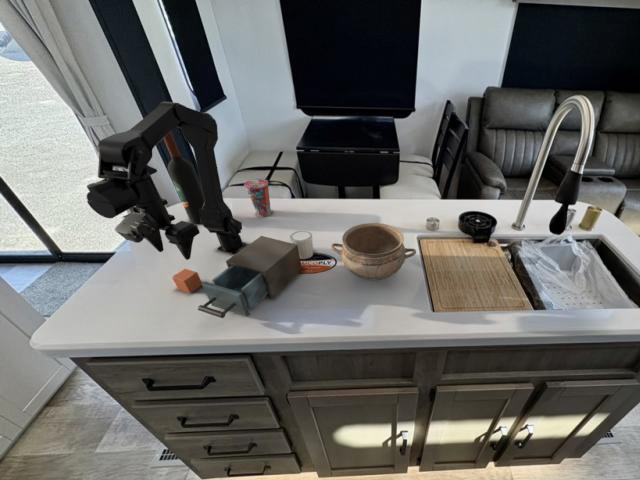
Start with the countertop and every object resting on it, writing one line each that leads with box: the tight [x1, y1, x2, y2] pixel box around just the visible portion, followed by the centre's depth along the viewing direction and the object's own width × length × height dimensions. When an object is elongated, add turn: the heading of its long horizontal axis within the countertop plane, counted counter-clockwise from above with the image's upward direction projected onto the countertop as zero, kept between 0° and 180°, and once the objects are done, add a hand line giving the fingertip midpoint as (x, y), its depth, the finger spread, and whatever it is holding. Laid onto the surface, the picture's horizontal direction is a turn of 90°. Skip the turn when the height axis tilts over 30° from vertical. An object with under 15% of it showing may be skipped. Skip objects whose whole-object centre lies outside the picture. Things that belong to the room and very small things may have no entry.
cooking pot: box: [330, 222, 417, 281], centre depth 96 cm, size 25×19×12 cm
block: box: [171, 268, 203, 294], centre depth 91 cm, size 4×4×4 cm
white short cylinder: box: [289, 230, 314, 260], centre depth 104 cm, size 7×7×7 cm
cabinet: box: [225, 235, 303, 300], centre depth 93 cm, size 15×13×9 cm
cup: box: [243, 178, 272, 217], centre depth 122 cm, size 9×8×12 cm
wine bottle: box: [163, 131, 205, 225], centre depth 112 cm, size 8×8×30 cm
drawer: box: [197, 265, 269, 319], centre depth 84 cm, size 18×11×7 cm, turn 159°
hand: (174, 255), depth 85 cm, fingers open, 9 cm apart
